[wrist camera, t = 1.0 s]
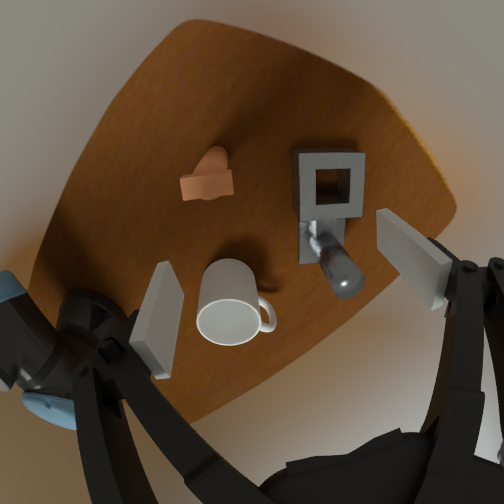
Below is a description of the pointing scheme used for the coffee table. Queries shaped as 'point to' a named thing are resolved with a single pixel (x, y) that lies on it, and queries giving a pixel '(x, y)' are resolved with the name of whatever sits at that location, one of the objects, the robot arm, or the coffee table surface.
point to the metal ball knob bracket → (328, 213)
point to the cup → (231, 304)
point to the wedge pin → (209, 177)
